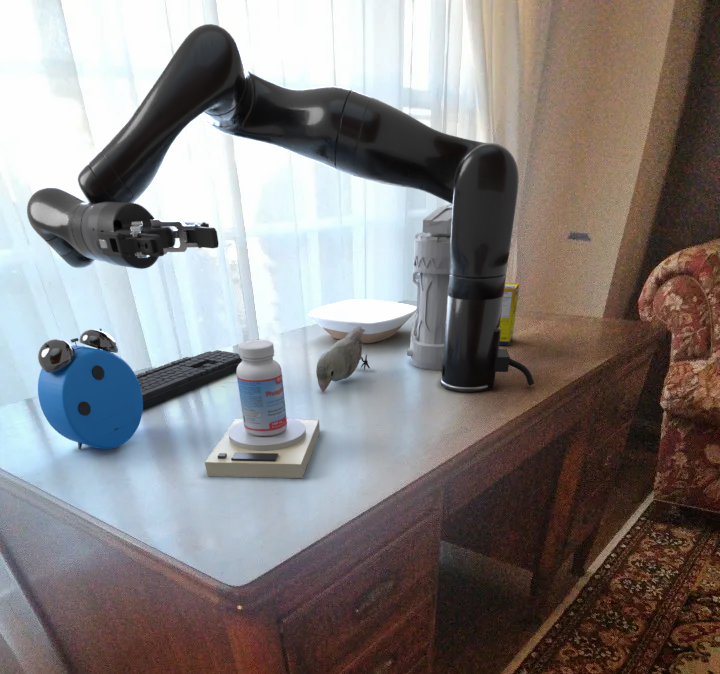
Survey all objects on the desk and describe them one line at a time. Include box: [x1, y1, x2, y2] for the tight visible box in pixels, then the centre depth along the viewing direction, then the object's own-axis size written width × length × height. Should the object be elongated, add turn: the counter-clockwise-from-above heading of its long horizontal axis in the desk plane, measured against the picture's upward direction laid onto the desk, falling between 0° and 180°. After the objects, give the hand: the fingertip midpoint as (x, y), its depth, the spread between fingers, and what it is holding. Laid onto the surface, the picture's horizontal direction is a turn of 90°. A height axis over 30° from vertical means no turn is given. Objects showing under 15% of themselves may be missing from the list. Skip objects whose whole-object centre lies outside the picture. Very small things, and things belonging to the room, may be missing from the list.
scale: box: [204, 416, 321, 479], centre depth 82 cm, size 13×16×3 cm
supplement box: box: [499, 282, 521, 346], centre depth 122 cm, size 6×6×11 cm
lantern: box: [406, 203, 453, 371], centre depth 108 cm, size 13×10×25 cm
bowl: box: [307, 298, 417, 344], centre depth 130 cm, size 22×22×5 cm
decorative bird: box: [315, 326, 371, 393], centre depth 105 cm, size 5×16×8 cm, turn 154°
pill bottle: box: [235, 339, 287, 436], centre depth 78 cm, size 6×6×11 cm
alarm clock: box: [37, 328, 144, 450], centre depth 81 cm, size 13×6×15 cm, turn 148°
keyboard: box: [135, 349, 242, 411], centre depth 106 cm, size 35×11×2 cm, turn 149°
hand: (188, 242), depth 73 cm, fingers open, 8 cm apart
